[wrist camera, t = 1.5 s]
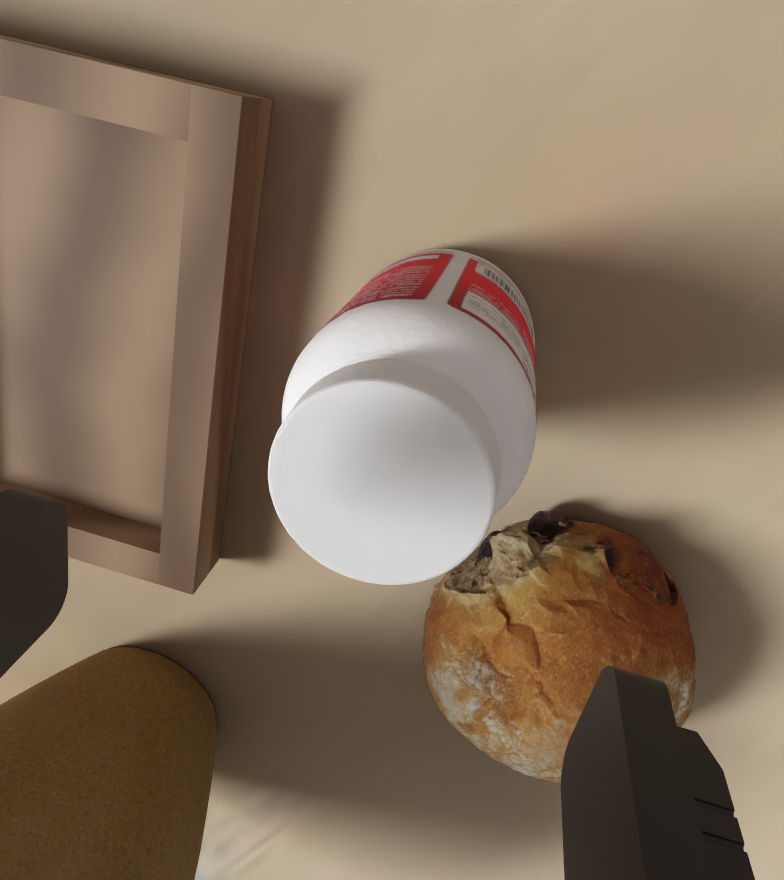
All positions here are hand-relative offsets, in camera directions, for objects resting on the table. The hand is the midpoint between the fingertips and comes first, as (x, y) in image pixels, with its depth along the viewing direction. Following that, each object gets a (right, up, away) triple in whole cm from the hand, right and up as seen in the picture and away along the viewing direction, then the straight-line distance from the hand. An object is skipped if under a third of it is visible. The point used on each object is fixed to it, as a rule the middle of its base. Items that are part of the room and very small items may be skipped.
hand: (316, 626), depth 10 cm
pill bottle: (+3, +6, +14) cm, 15 cm away
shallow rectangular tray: (-10, +7, +16) cm, 20 cm away
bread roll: (+8, -4, +18) cm, 20 cm away
